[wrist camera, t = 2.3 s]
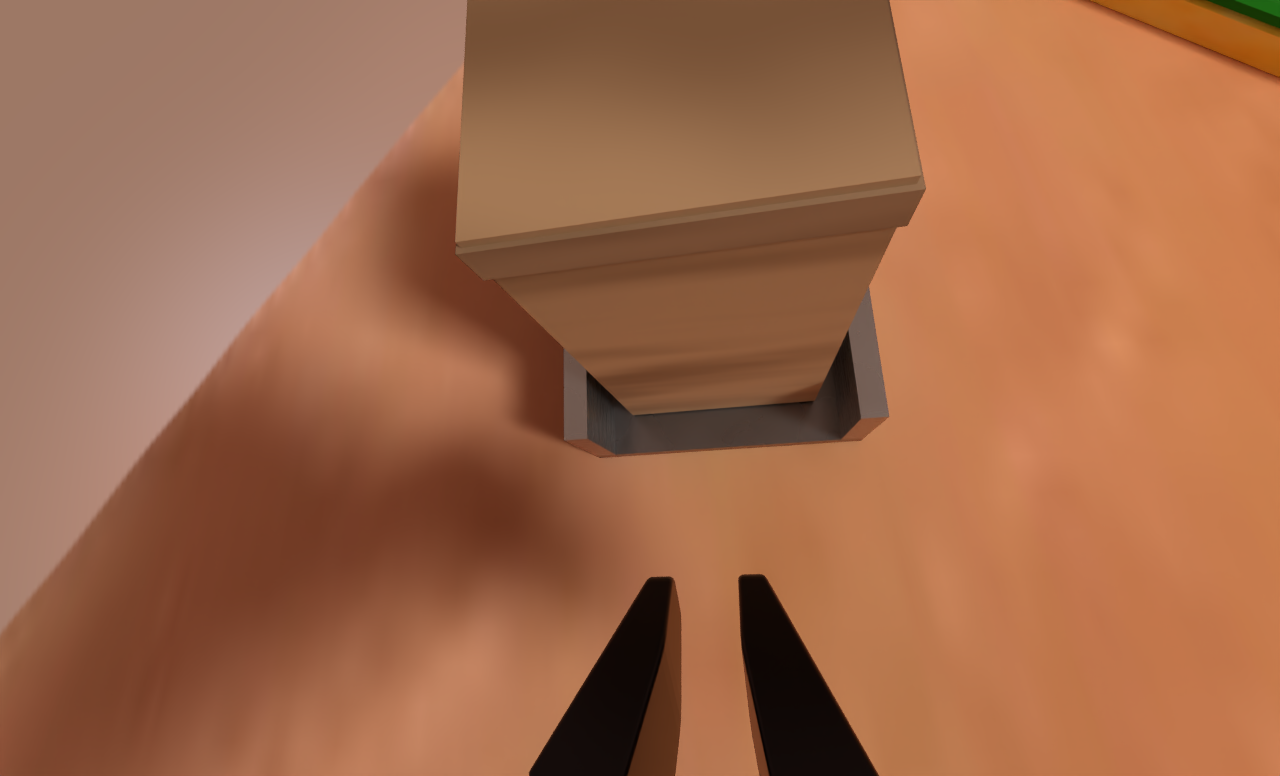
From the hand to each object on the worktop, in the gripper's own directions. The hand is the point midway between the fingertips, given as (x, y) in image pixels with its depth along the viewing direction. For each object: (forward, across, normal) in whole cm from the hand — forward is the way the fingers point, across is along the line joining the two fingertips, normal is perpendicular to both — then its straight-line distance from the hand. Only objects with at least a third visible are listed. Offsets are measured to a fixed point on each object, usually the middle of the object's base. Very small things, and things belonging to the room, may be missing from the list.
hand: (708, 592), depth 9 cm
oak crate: (+15, 0, +2) cm, 15 cm away
